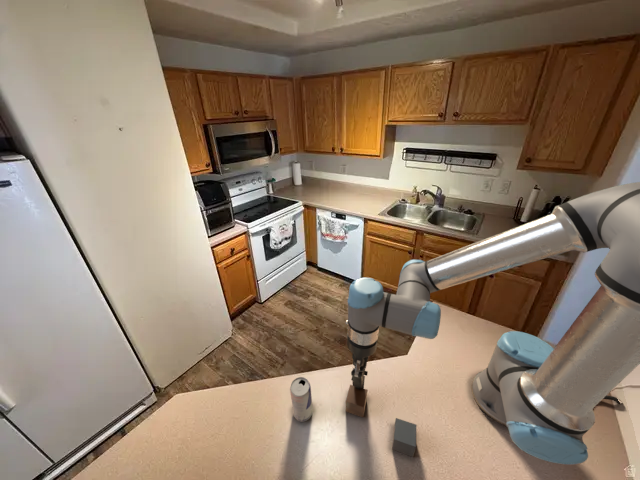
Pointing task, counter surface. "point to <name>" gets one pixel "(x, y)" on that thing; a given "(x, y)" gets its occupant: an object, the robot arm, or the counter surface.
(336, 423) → the counter surface
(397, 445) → the grey block
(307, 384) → the energy drink
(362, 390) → the walnut block
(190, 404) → the counter surface
